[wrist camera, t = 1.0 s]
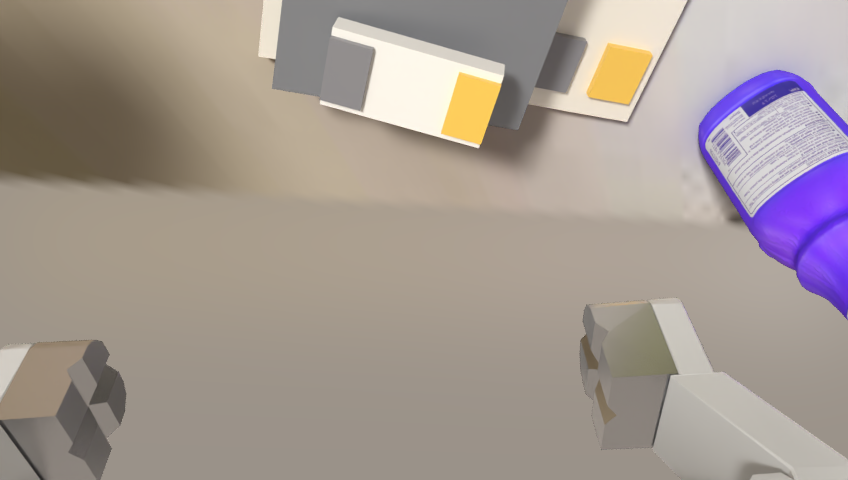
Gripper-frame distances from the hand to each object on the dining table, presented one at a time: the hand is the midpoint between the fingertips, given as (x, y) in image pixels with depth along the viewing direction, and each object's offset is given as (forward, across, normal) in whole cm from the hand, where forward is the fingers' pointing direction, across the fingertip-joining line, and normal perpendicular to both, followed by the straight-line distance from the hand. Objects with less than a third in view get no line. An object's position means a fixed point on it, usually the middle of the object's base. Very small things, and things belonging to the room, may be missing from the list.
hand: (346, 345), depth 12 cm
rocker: (+23, -1, +6) cm, 24 cm away
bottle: (+31, -22, +14) cm, 40 cm away
